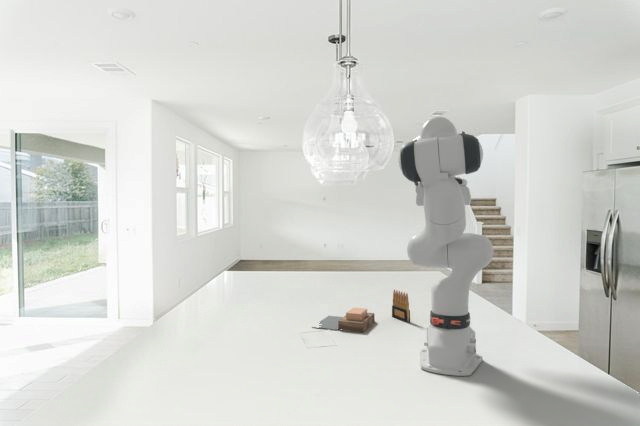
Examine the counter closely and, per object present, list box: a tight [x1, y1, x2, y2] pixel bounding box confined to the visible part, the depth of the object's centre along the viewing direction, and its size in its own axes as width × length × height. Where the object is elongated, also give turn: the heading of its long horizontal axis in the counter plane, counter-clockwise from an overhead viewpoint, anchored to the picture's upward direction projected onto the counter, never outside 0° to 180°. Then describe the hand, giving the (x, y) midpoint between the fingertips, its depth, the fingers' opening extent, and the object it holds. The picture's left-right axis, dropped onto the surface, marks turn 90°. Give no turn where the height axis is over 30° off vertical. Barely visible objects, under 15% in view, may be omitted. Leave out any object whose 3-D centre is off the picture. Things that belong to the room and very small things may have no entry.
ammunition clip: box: [391, 289, 411, 324], centre depth 175 cm, size 11×2×12 cm, turn 24°
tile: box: [345, 307, 368, 320], centre depth 167 cm, size 9×6×2 cm, turn 157°
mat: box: [318, 315, 344, 331], centre depth 171 cm, size 18×11×1 cm, turn 157°
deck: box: [338, 312, 376, 333], centre depth 167 cm, size 16×10×4 cm, turn 157°
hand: (443, 217), depth 159 cm, fingers open, 8 cm apart
